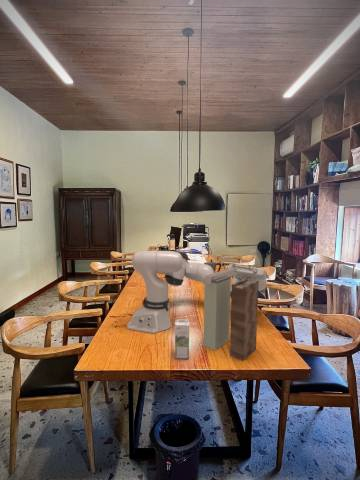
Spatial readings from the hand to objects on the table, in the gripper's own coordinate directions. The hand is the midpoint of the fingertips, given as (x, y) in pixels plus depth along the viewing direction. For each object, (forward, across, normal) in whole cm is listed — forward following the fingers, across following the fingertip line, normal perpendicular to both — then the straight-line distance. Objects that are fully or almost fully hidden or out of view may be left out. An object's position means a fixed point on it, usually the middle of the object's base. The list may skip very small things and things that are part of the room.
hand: (241, 266), depth 138 cm
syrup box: (+19, +5, -48) cm, 52 cm away
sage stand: (+3, 0, -38) cm, 39 cm away
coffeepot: (-80, +63, +8) cm, 102 cm away
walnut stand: (+3, -13, -38) cm, 41 cm away
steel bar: (+15, 0, -12) cm, 19 cm away
